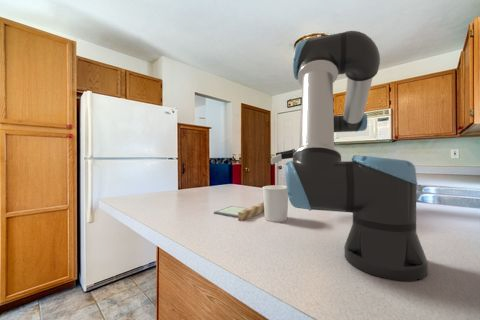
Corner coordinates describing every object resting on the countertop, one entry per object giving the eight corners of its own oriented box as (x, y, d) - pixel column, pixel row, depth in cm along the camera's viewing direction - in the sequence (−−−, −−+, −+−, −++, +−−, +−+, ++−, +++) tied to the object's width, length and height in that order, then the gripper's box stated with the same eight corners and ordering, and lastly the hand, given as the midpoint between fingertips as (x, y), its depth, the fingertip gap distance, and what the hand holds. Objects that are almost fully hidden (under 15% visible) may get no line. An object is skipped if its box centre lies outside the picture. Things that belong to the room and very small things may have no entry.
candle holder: (258, 216, 86) (258, 186, 86) (281, 214, 89) (281, 184, 89) (269, 223, 77) (269, 189, 77) (294, 221, 80) (293, 188, 80)
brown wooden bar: (242, 221, 80) (242, 212, 80) (238, 220, 82) (238, 212, 82) (267, 209, 97) (267, 202, 97) (263, 209, 98) (263, 202, 98)
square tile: (239, 218, 84) (239, 216, 84) (213, 213, 91) (213, 211, 91) (256, 211, 95) (256, 209, 95) (232, 207, 102) (232, 205, 102)
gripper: (340, 161, 91) (316, 177, 77) (288, 155, 109) (261, 168, 95) (340, 144, 89) (315, 157, 75) (288, 140, 107) (260, 151, 93)
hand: (285, 163), depth 85 cm, fingers open, 13 cm apart
